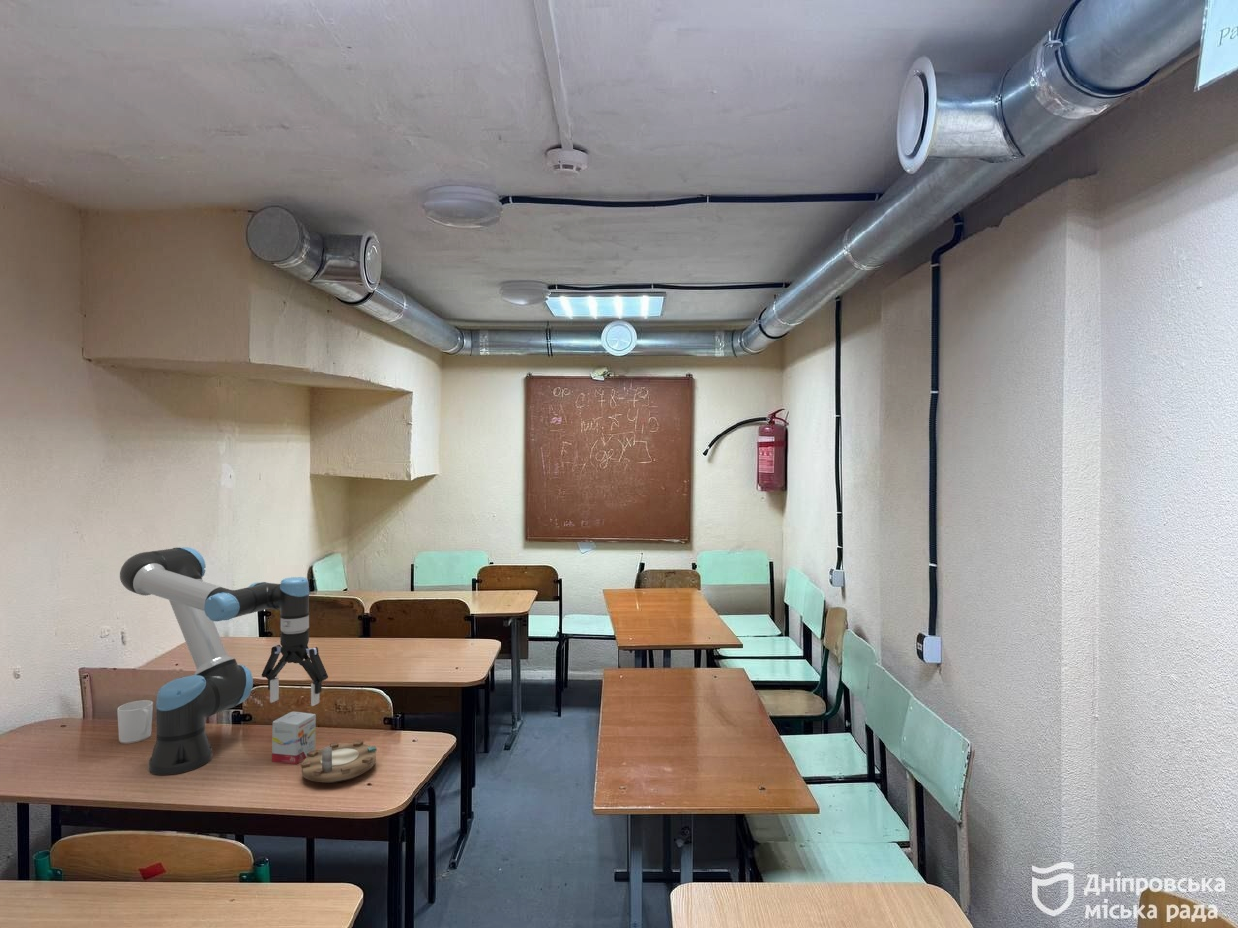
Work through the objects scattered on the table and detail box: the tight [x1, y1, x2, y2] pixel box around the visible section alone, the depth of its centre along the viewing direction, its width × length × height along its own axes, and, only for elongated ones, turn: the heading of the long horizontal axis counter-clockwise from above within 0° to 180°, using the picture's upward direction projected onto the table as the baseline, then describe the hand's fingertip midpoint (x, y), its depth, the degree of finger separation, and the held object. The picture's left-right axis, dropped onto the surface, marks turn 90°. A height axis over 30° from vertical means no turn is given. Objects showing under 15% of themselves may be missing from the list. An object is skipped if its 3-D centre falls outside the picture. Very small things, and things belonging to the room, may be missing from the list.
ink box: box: [271, 711, 317, 765], centre depth 190 cm, size 9×9×12 cm
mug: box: [116, 699, 154, 745], centre depth 201 cm, size 11×9×10 cm
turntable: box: [300, 739, 377, 783], centre depth 181 cm, size 19×19×8 cm
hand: (294, 702), depth 190 cm, fingers open, 13 cm apart
